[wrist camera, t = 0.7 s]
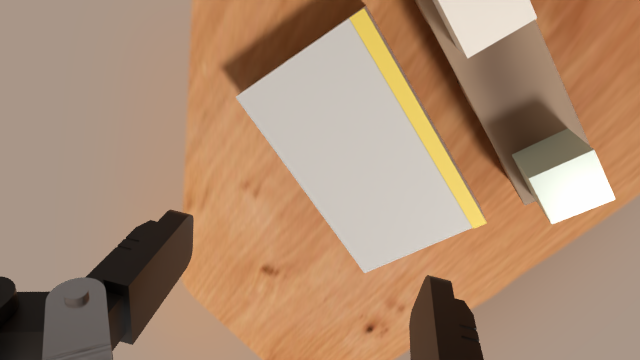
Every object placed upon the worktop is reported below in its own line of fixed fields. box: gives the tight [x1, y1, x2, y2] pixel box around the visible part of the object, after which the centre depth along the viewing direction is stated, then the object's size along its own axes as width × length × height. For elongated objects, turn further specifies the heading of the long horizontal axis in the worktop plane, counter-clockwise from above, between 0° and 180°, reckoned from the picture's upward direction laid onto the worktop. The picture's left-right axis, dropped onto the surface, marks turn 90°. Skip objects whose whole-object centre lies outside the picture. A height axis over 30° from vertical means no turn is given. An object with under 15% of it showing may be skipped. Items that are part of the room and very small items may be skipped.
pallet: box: [415, 0, 590, 205], centre depth 30 cm, size 6×18×4 cm, turn 34°
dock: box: [236, 6, 487, 273], centre depth 34 cm, size 12×20×3 cm, turn 34°
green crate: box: [512, 128, 615, 224], centre depth 28 cm, size 4×4×4 cm
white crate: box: [433, 0, 537, 58], centre depth 24 cm, size 4×4×4 cm
